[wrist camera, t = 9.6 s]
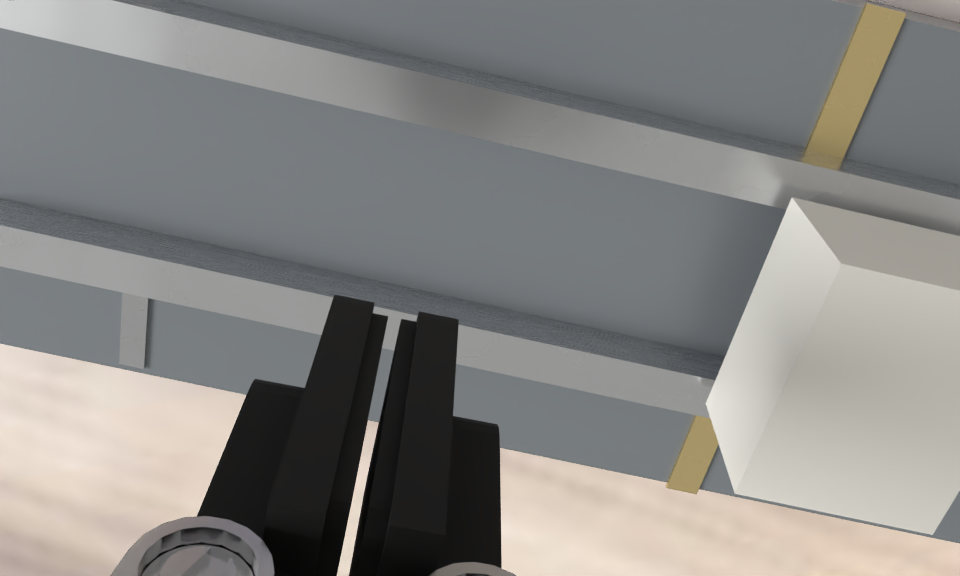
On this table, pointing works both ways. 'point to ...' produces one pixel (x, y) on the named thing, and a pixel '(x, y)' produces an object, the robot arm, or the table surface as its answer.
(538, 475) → the table surface
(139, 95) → the fader console
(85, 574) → the table surface
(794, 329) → the fader knob
